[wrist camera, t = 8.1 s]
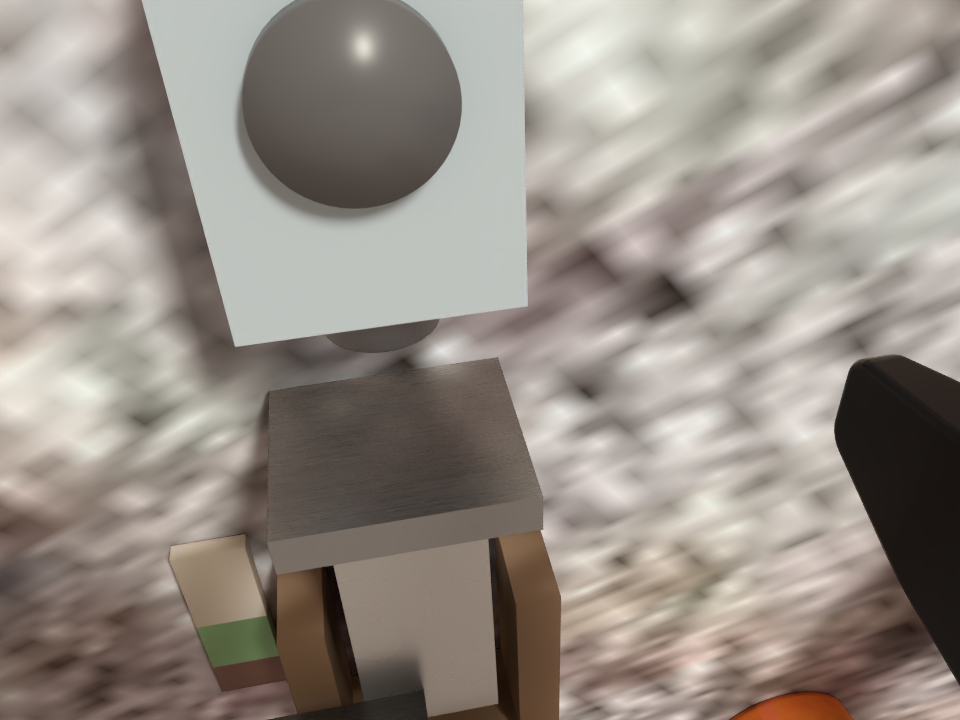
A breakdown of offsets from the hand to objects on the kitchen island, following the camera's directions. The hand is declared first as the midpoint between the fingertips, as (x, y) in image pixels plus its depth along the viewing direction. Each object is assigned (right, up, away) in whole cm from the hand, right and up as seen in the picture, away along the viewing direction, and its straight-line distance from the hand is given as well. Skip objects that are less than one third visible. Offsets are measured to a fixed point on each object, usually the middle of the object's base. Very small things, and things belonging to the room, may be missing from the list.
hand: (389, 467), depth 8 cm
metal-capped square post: (-2, -3, +16) cm, 17 cm away
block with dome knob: (-2, +7, +9) cm, 12 cm away
